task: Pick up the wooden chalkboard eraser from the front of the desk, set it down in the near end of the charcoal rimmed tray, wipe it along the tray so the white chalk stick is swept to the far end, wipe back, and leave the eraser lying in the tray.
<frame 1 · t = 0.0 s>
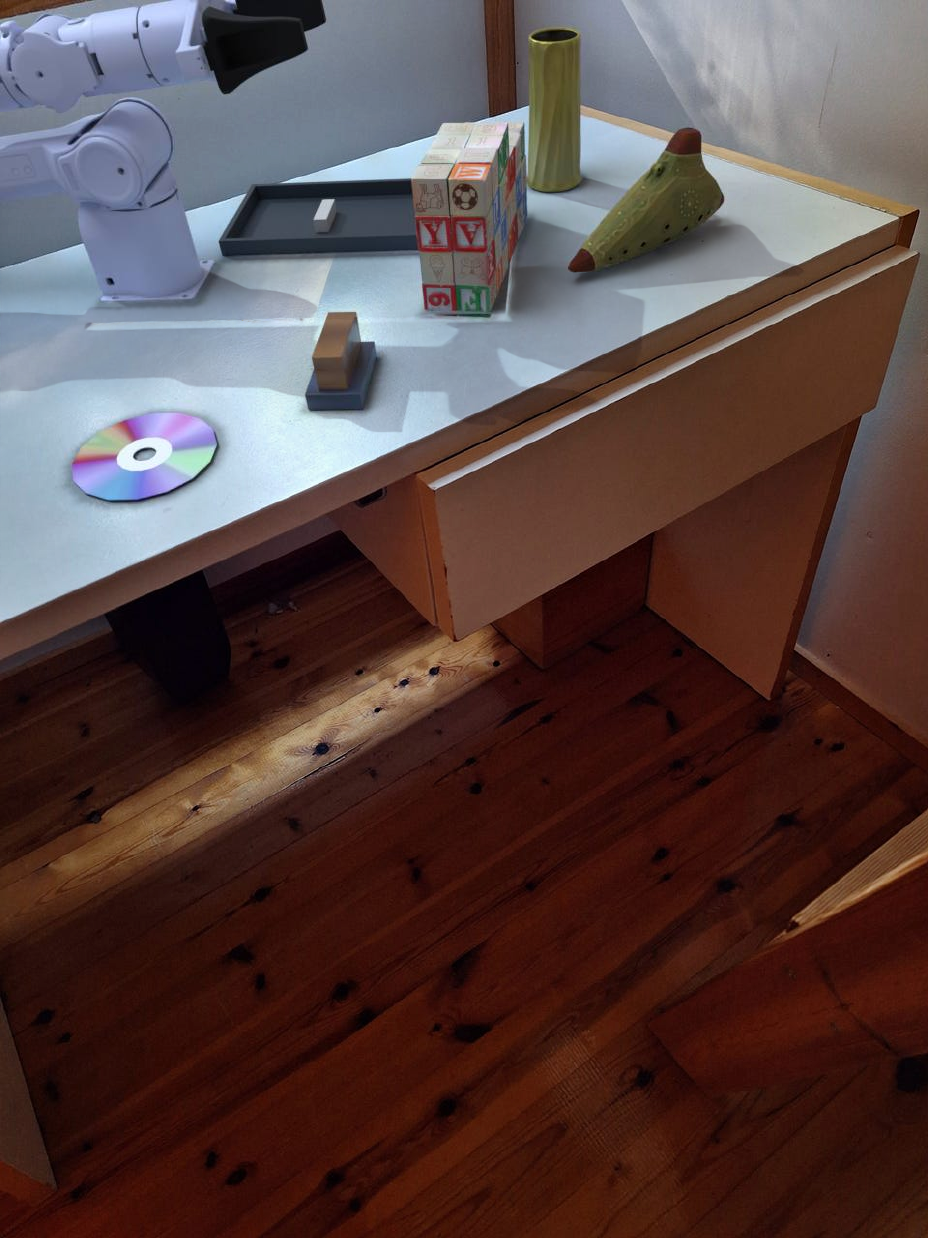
hand: (313, 20, 72), 22 cm above the table, tool horizontal, fingers open, 7 cm apart
vase: (554, 183, 101), on the table
cd: (145, 456, 70), on the table
stack of blocks: (480, 264, 89), on the table
tray: (336, 227, 96), on the table
chalk: (326, 222, 96), point 1 cm above the table, touching tray
ocarina: (646, 251, 88), on the table
eraser: (343, 382, 76), on the table
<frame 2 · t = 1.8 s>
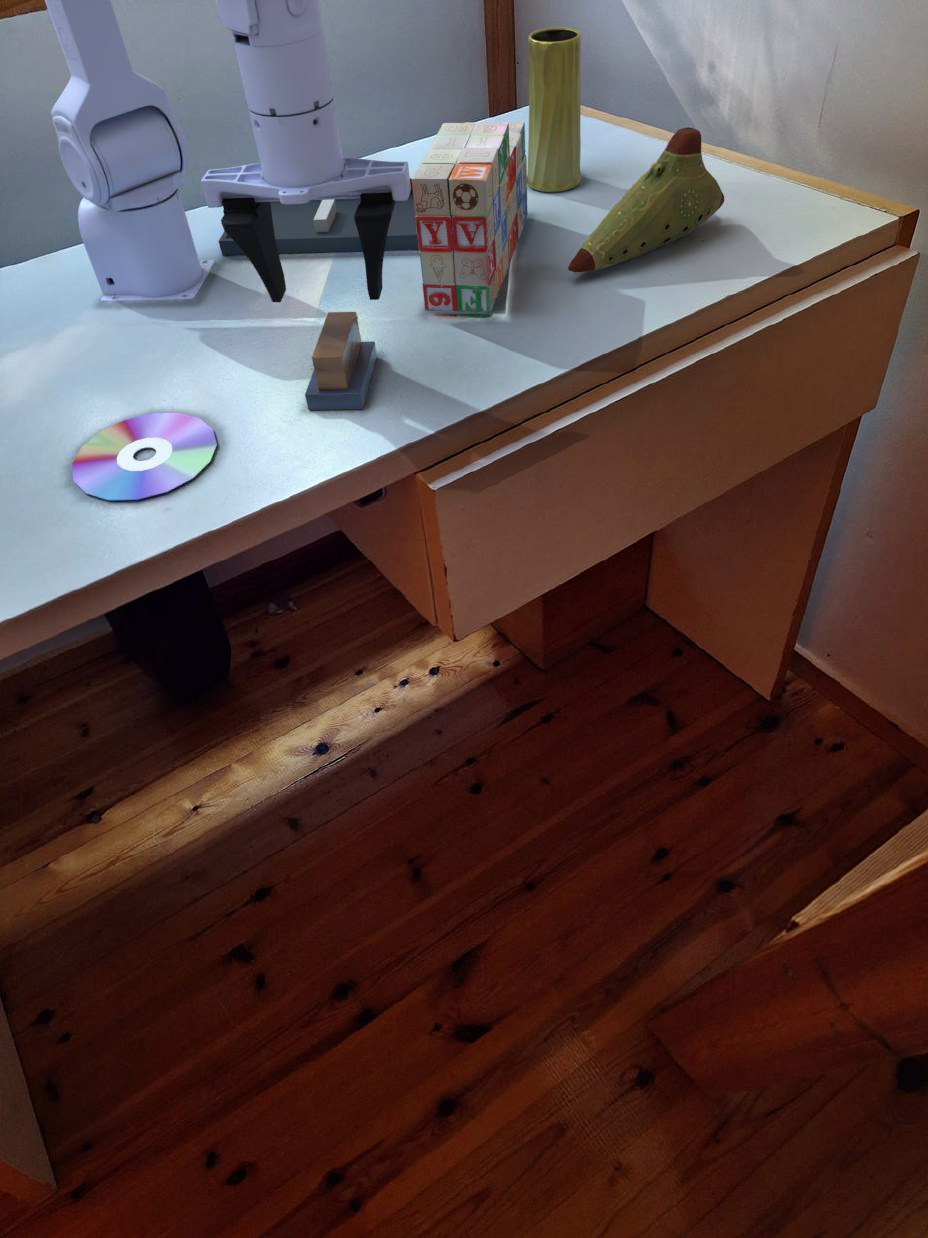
hand: (327, 294, 70), 8 cm above the table, tool pointing down, fingers open, 7 cm apart
nothing on the table moved.
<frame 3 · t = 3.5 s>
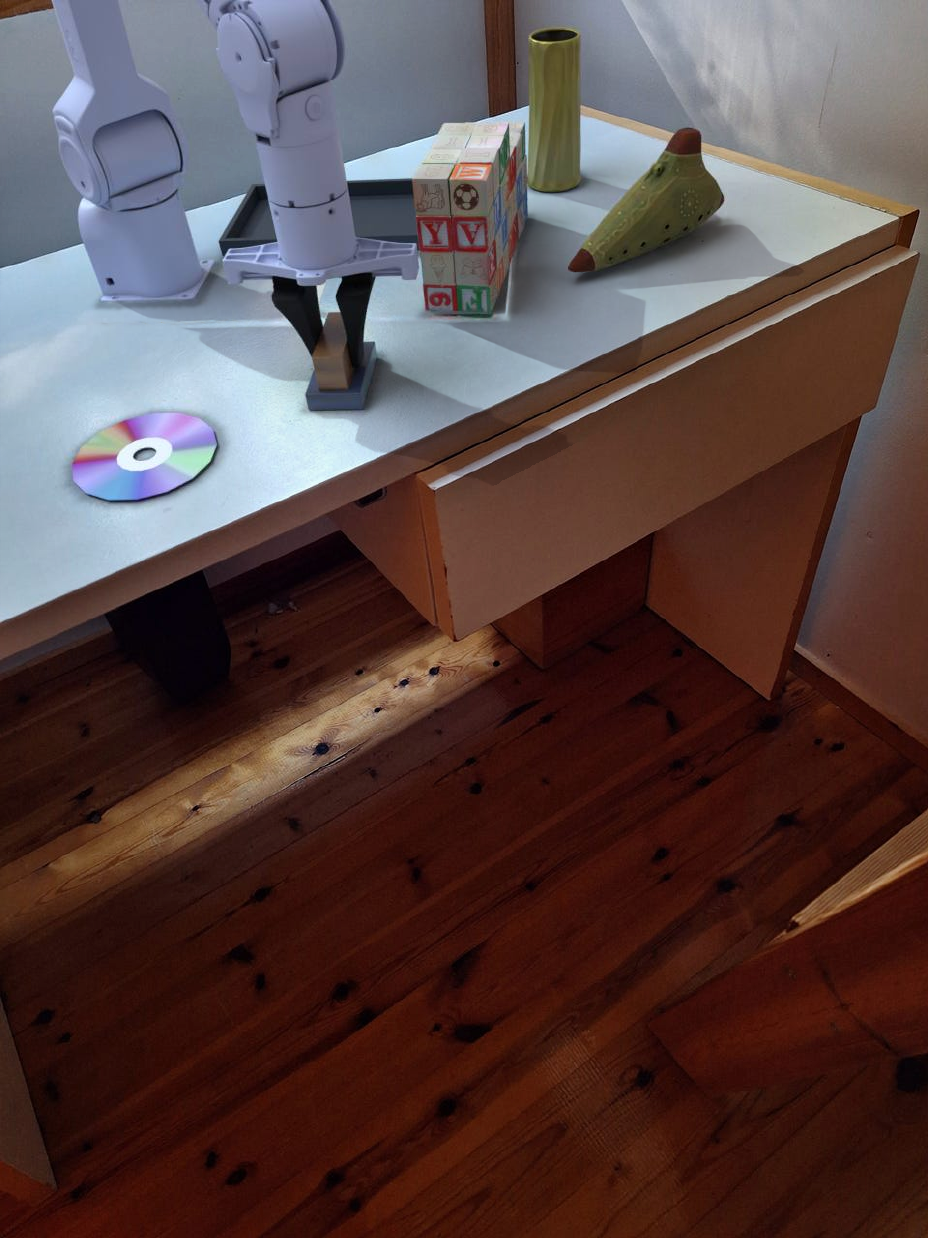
hand: (339, 361, 74), 2 cm above the table, tool pointing down, fingers closed on eraser, 2 cm apart
eraser: (344, 382, 76), on the table, touching gripper
everything else where it was.
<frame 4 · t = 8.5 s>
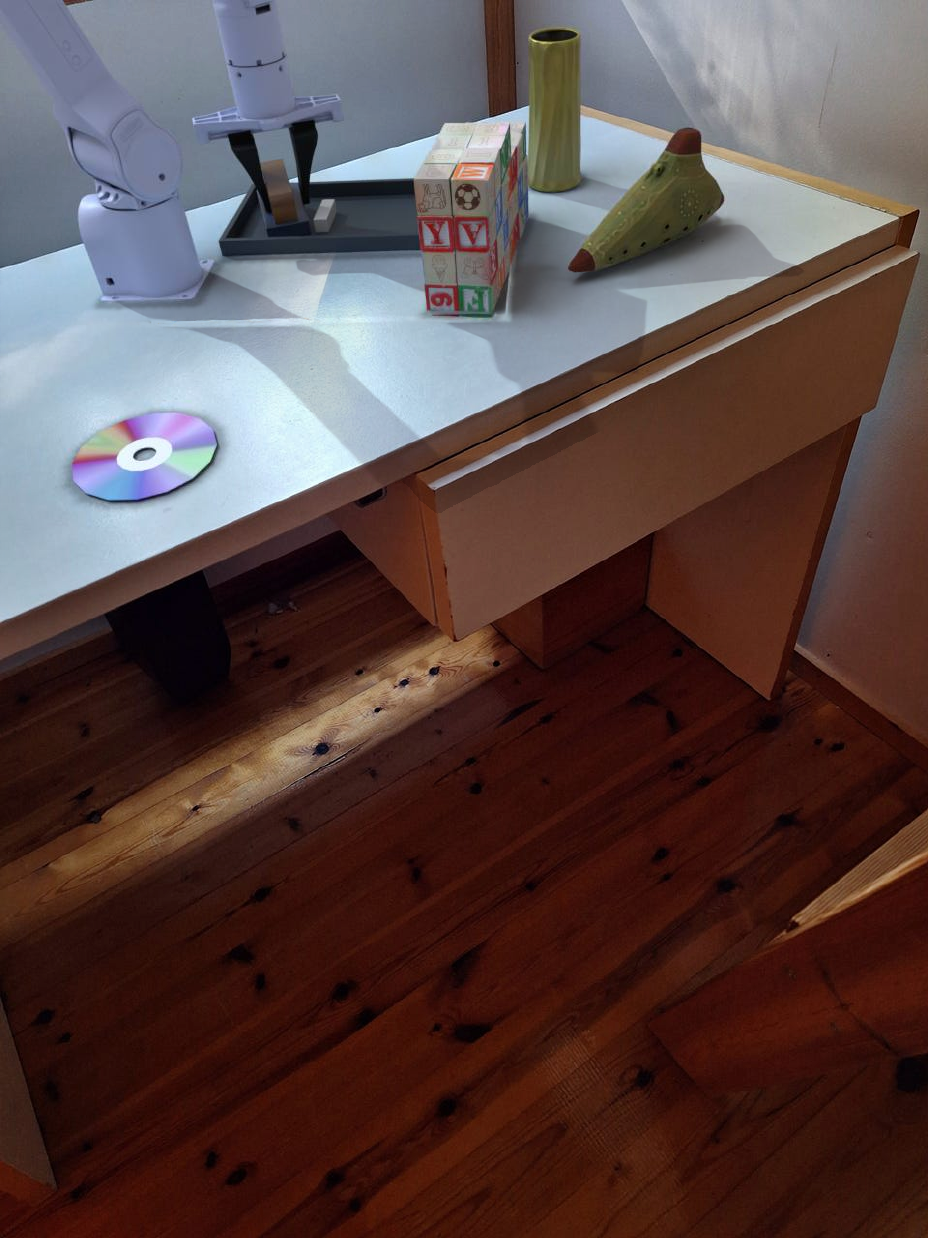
hand: (286, 204, 95), 3 cm above the table, tool pointing down, fingers closed on eraser, 3 cm apart
eraser: (285, 218, 96), point 1 cm above the table, tilted 7°, touching gripper
everything else where it was.
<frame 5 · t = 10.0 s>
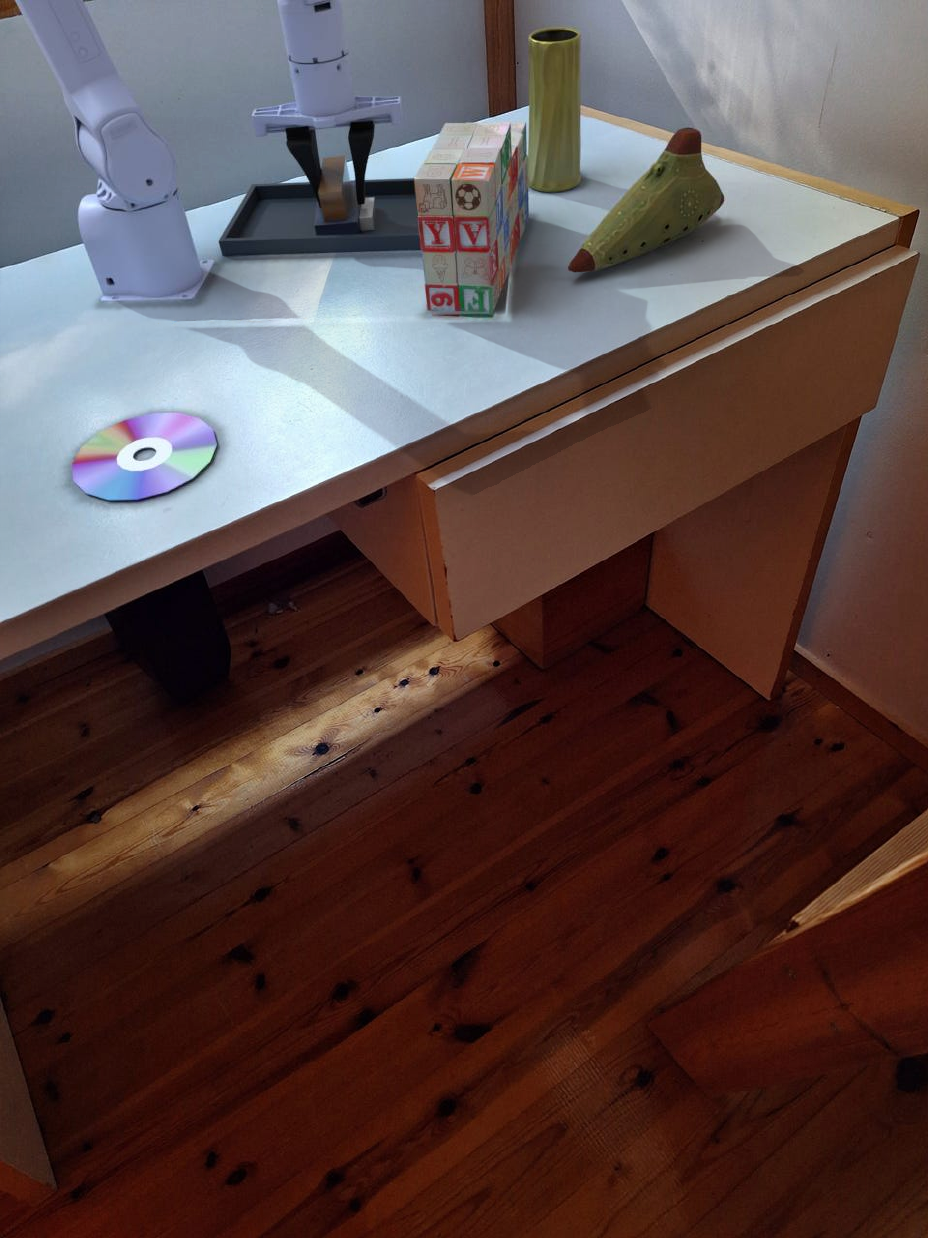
hand: (342, 202, 94), 3 cm above the table, tool pointing down, fingers closed on eraser, 3 cm apart
chalk: (368, 220, 96), point 1 cm above the table, touching eraser, tray
eraser: (340, 215, 96), point 1 cm above the table, tilted 7°, touching chalk, gripper
everything else where it was.
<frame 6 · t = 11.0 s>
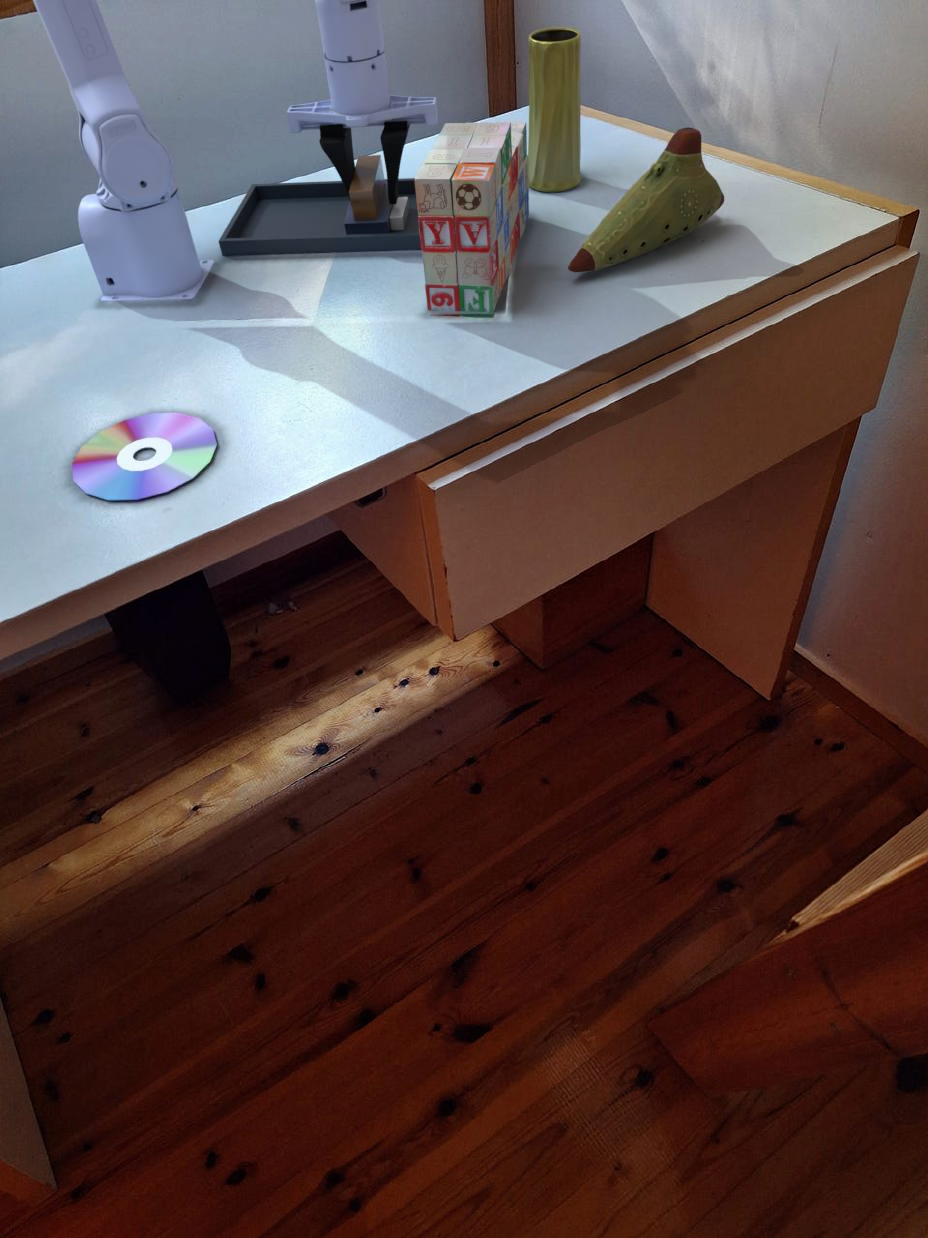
hand: (374, 201, 94), 3 cm above the table, tool pointing down, fingers closed on eraser, 3 cm apart
chalk: (400, 219, 95), point 1 cm above the table, touching eraser, tray
eraser: (372, 214, 95), point 1 cm above the table, tilted 7°, touching chalk, gripper
everything else where it was.
when the fingers open (3 cm above the table, at t = 13.5 s): eraser stays where it is, point 1 cm above the table.
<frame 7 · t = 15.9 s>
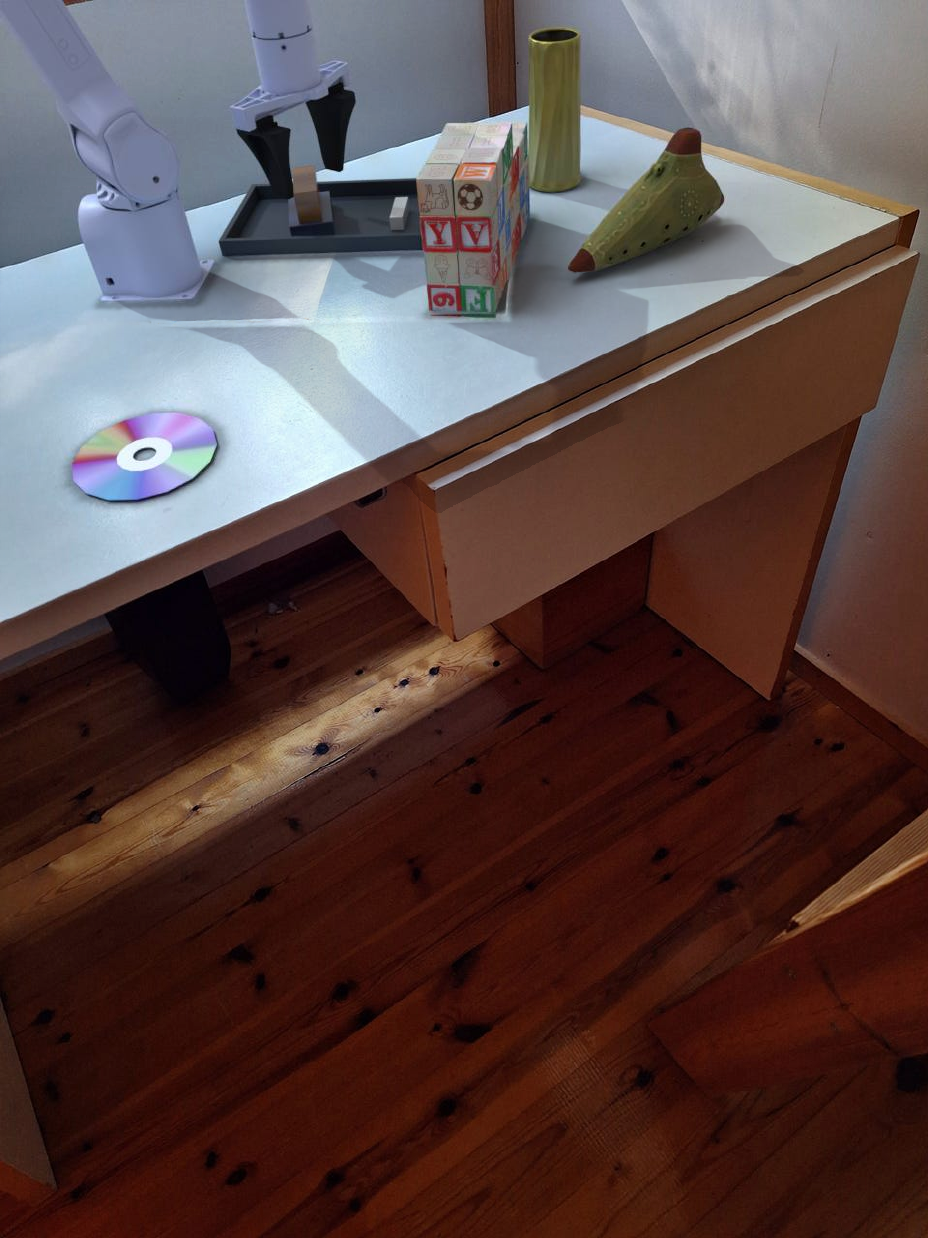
hand: (309, 182, 93), 5 cm above the table, tool pointing down, fingers open, 7 cm apart
chalk: (400, 219, 95), point 1 cm above the table, touching tray
eraser: (312, 222, 96), point 1 cm above the table, touching gripper
everything else where it was.
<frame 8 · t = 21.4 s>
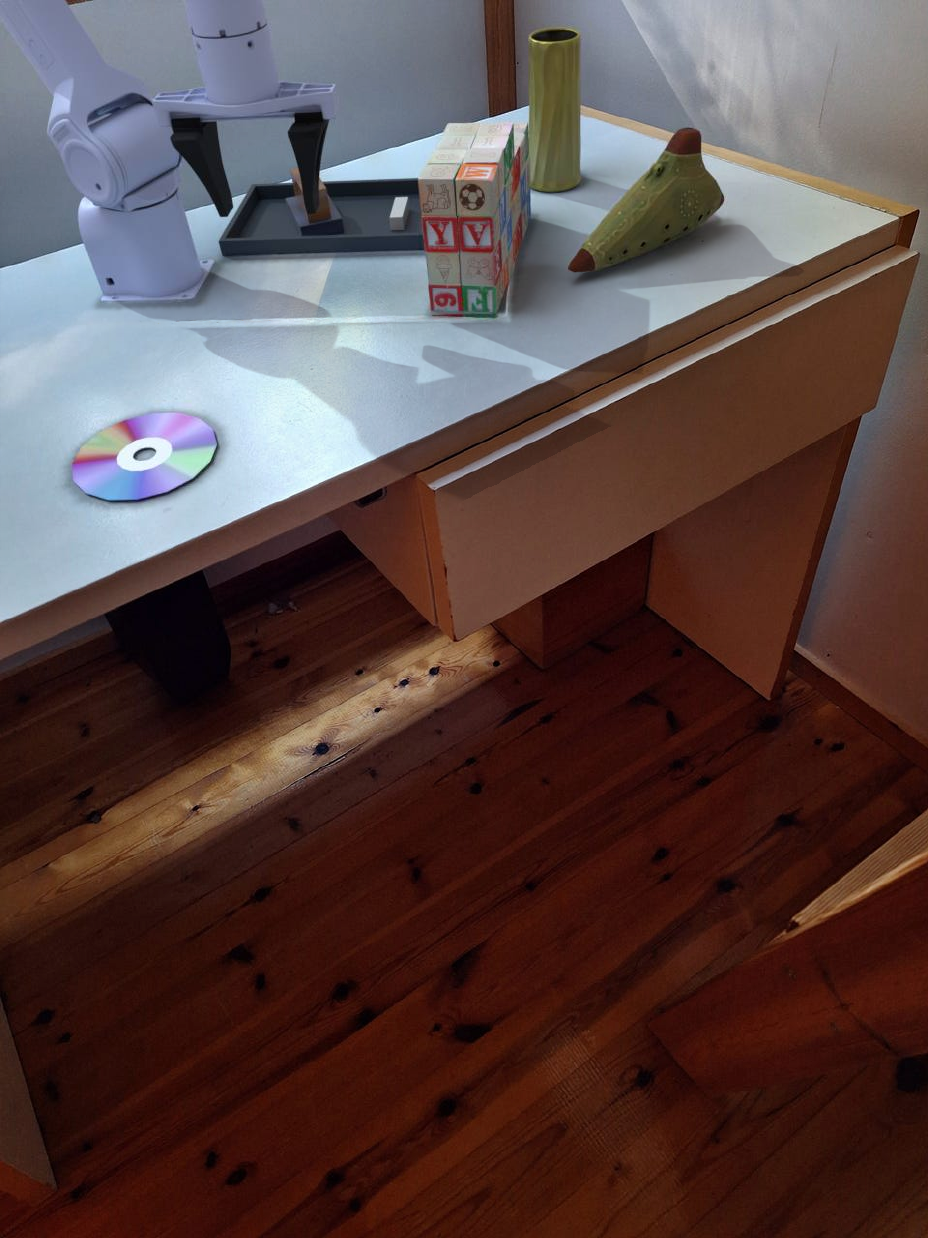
hand: (269, 210, 77), 9 cm above the table, tool pointing down, fingers open, 7 cm apart
eraser: (315, 221, 96), point 1 cm above the table, touching tray
everything else where it was.
at the end: chalk inside the target area in the tray (0.3 cm from its centre), point 0.6 cm above the tray's base; eraser inside the target area in the tray (2.2 cm from its centre), point 0.6 cm above the tray's base; the gripper is holding nothing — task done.
